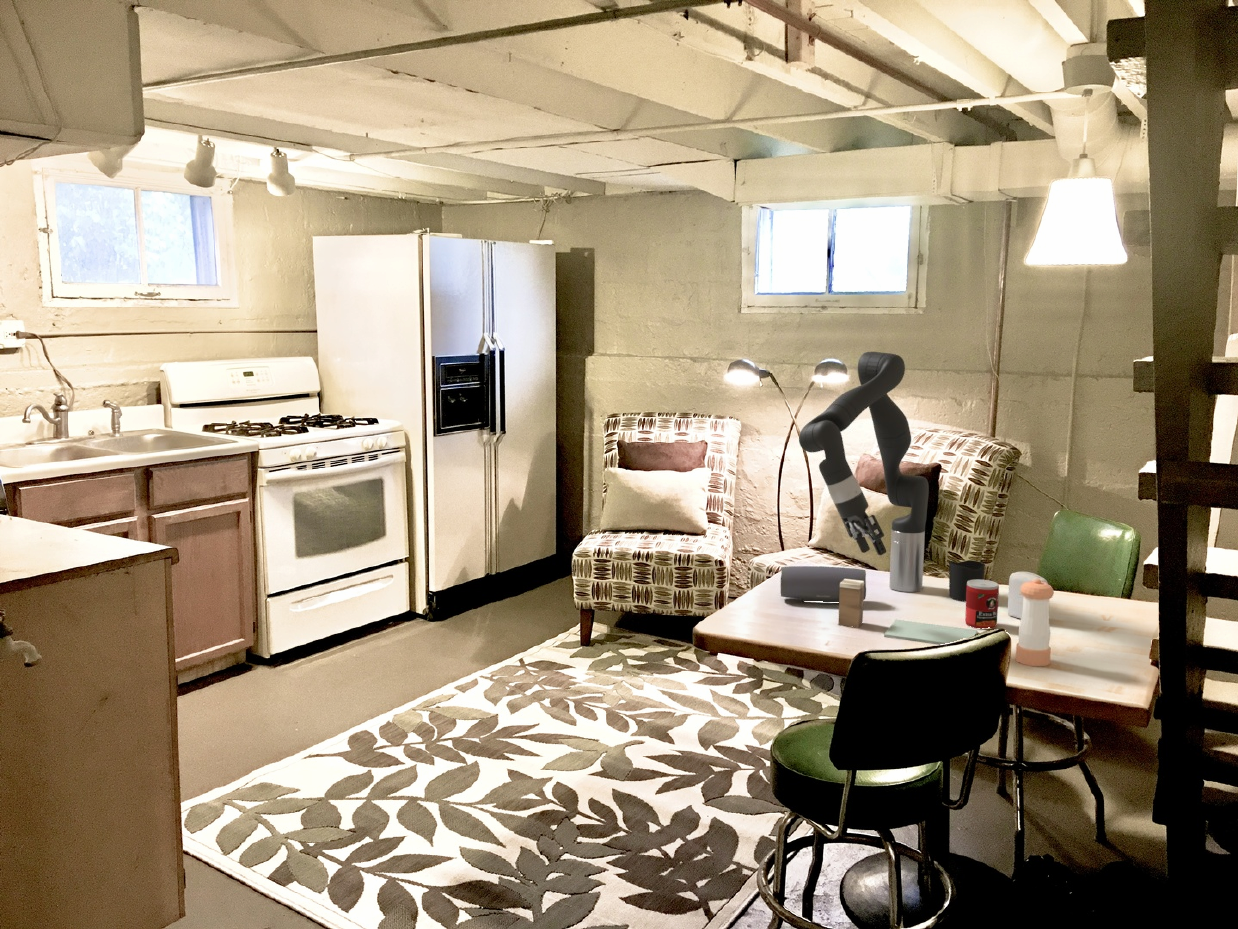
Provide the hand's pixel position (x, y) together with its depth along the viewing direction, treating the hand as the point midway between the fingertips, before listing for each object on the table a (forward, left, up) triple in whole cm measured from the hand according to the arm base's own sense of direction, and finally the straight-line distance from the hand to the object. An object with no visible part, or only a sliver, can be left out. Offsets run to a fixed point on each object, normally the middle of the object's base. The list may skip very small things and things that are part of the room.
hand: (874, 552), depth 248 cm
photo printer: (-25, +35, -19) cm, 47 cm away
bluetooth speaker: (-17, -17, -19) cm, 31 cm away
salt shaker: (+10, +39, -19) cm, 44 cm away
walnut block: (0, -5, -19) cm, 20 cm away
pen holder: (-39, +18, -19) cm, 47 cm away
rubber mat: (0, +15, -19) cm, 24 cm away
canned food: (-14, +25, -19) cm, 34 cm away
